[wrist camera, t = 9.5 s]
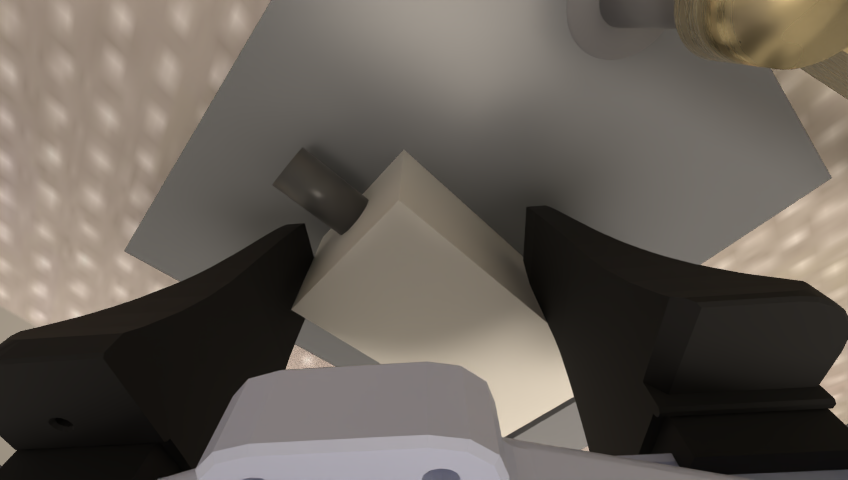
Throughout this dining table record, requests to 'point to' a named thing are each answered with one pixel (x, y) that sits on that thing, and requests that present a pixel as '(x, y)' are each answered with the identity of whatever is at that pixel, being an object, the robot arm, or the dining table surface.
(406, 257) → the plug
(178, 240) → the socket
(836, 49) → the brass ball-knob lever
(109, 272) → the dining table surface
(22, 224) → the dining table surface
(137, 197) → the dining table surface
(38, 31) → the dining table surface
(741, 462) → the robot arm
